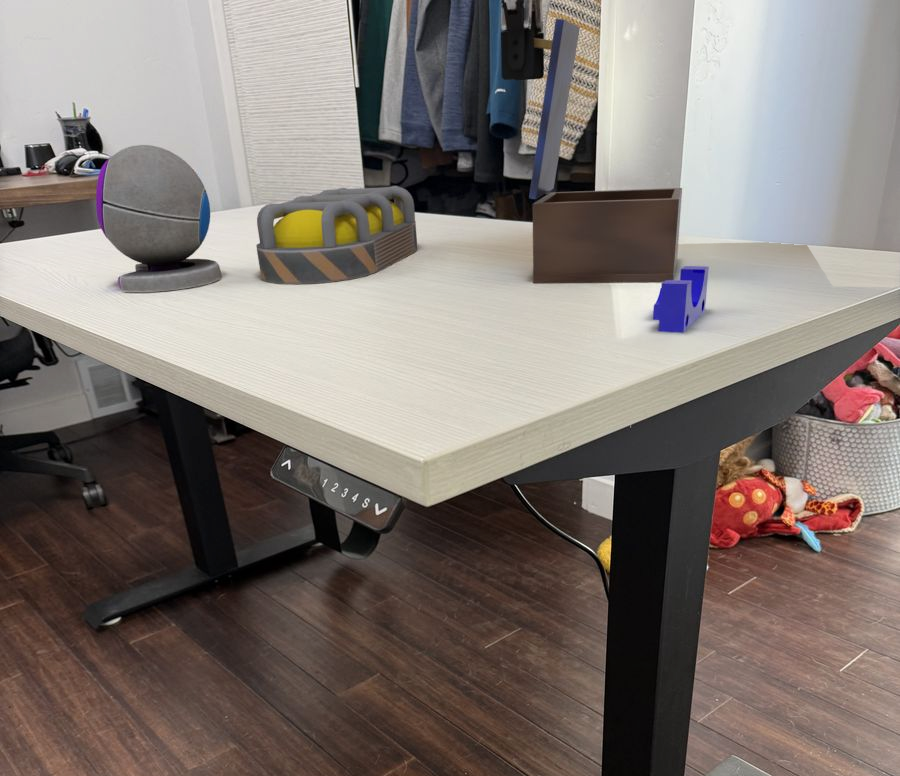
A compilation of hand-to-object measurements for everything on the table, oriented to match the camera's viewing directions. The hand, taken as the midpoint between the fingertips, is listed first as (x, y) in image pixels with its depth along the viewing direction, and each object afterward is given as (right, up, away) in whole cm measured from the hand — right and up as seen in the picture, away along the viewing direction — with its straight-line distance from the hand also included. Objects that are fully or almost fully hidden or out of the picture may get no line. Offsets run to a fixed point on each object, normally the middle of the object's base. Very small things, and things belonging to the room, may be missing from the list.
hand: (523, 77), depth 88 cm
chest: (+10, -17, +7) cm, 21 cm away
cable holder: (+11, -30, -15) cm, 36 cm away
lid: (+4, -3, +1) cm, 5 cm away
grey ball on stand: (-42, -15, +18) cm, 48 cm away
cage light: (-21, -10, +24) cm, 34 cm away
